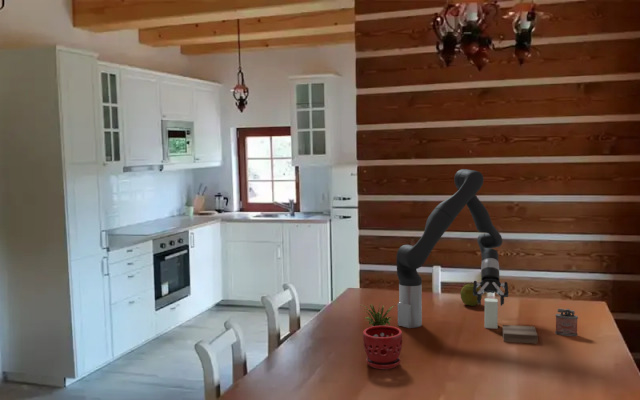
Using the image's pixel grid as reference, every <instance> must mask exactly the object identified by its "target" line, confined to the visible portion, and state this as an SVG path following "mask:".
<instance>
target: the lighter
mask: <svg viewBox="0 0 640 400" xmlns="http://www.w3.org/2000/svg"><path fill="white" fill-rule="evenodd" d="M578 319H579V317H578V315H575V310H573V309H572V310H571V309H570V308H566V309H565V308H557V313H555V332H554V334H555V335H560V336H567V337H578Z"/></svg>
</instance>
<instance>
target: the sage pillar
mask: <svg viewBox="0 0 640 400" xmlns="http://www.w3.org/2000/svg"><path fill="white" fill-rule="evenodd" d="M498 302H499V301H498V298H488V297H487V298H484V328H485V329H494V330H495V329H498V328H499V327H498V321H499V320H498V314H499V313H498V312H499V311H498V309H499V303H498Z"/></svg>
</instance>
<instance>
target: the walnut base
mask: <svg viewBox="0 0 640 400" xmlns="http://www.w3.org/2000/svg"><path fill="white" fill-rule="evenodd" d="M501 332H502V338H503V342H505V343H508V342H509V343H519V344H520V343H523V344H538V333H537V330H536V327H535V326H532V325H531V326H530V325H529V326H528V325H514V324H513V325H511V324H502V331H501Z"/></svg>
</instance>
